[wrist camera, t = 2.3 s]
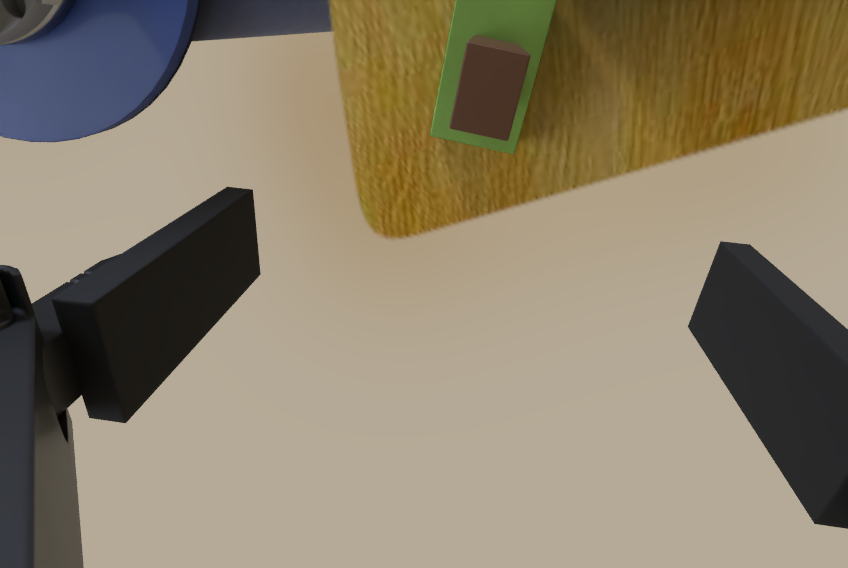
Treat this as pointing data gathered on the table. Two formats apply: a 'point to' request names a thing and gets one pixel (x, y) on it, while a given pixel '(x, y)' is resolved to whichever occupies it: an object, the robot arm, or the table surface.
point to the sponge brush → (490, 71)
